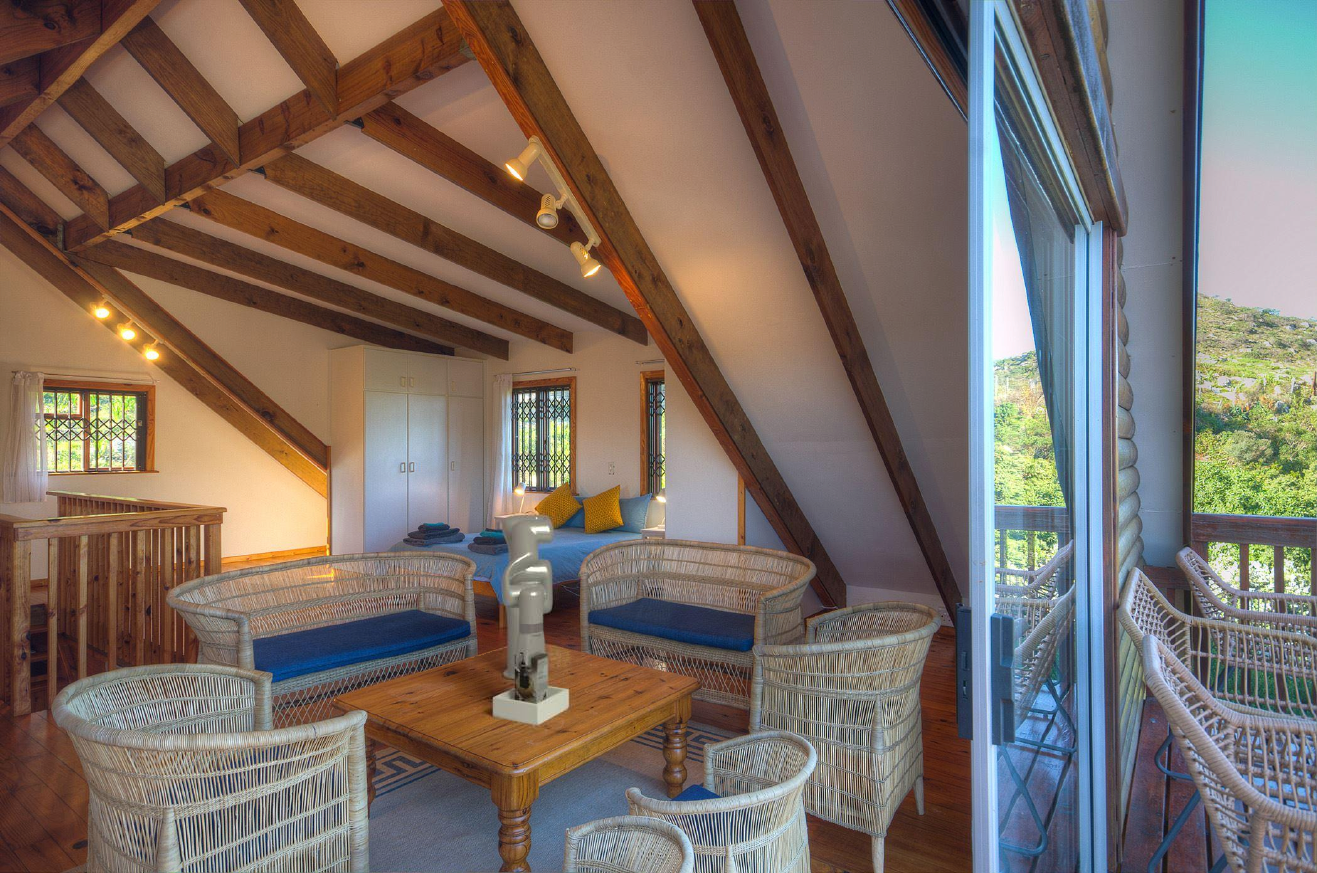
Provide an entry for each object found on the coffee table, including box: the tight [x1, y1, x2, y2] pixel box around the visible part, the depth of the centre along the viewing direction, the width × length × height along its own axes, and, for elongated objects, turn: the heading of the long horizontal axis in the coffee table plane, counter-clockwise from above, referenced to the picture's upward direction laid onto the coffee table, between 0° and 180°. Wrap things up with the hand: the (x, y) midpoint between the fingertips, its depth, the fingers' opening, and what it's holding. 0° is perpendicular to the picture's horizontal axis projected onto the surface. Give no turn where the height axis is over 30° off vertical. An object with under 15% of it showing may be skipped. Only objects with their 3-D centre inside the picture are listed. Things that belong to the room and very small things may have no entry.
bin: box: [492, 685, 570, 726], centre depth 234 cm, size 17×17×6 cm
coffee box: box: [514, 653, 549, 704], centre depth 235 cm, size 9×6×16 cm
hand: (531, 683), depth 235 cm, fingers closed on coffee box, 6 cm apart
